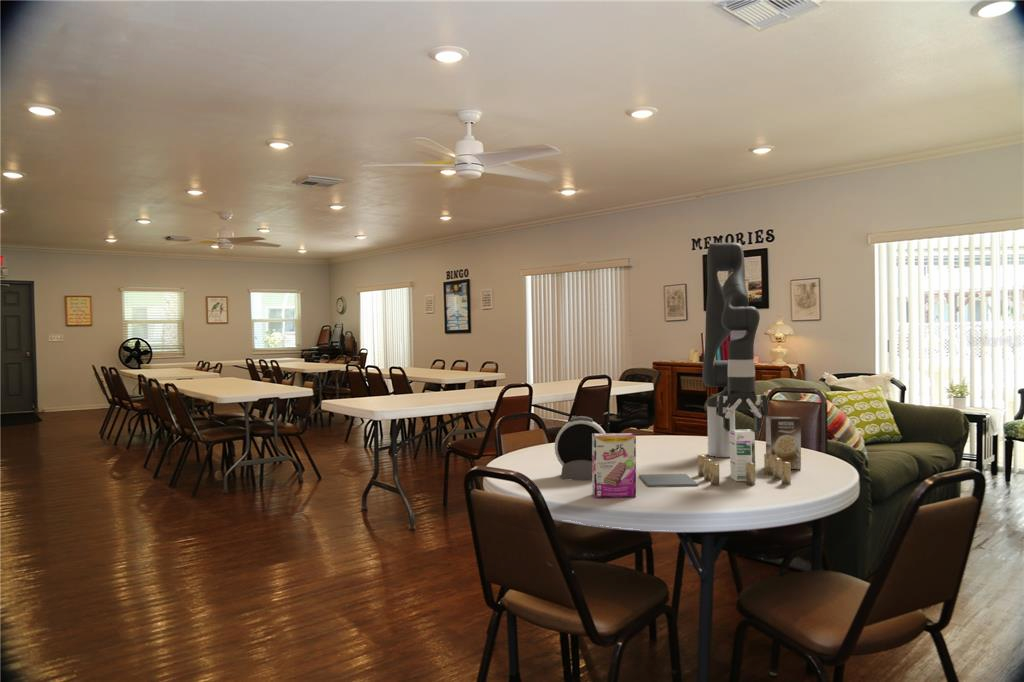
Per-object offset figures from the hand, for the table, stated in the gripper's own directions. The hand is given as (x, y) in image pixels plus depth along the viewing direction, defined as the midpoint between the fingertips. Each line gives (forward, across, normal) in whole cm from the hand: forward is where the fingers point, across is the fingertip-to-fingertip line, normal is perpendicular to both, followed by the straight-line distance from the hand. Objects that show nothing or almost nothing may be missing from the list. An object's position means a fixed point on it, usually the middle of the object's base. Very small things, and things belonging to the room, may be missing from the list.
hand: (742, 430), depth 196 cm
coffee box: (+14, -18, -16) cm, 28 cm away
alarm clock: (+14, +46, -8) cm, 49 cm away
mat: (+14, +22, 0) cm, 26 cm away
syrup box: (+14, 0, 0) cm, 15 cm away
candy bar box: (+15, +40, +17) cm, 46 cm away
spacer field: (+14, 0, 0) cm, 14 cm away
